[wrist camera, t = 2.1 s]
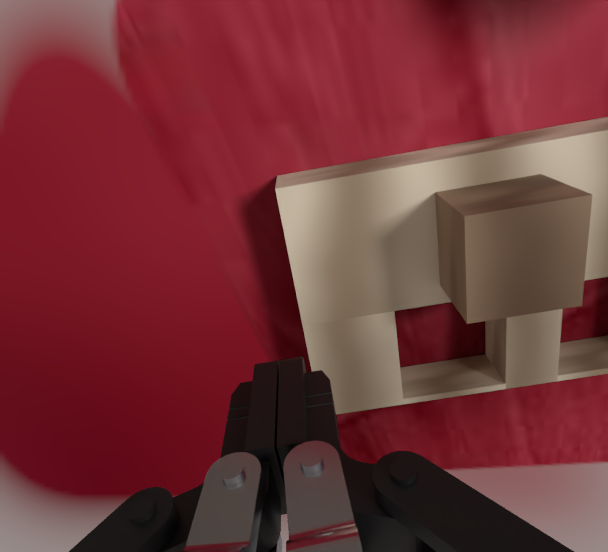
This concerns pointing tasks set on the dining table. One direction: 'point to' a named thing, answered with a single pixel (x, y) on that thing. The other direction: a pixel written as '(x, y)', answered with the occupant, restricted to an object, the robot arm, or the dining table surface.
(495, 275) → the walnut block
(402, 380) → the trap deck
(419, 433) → the dining table surface
